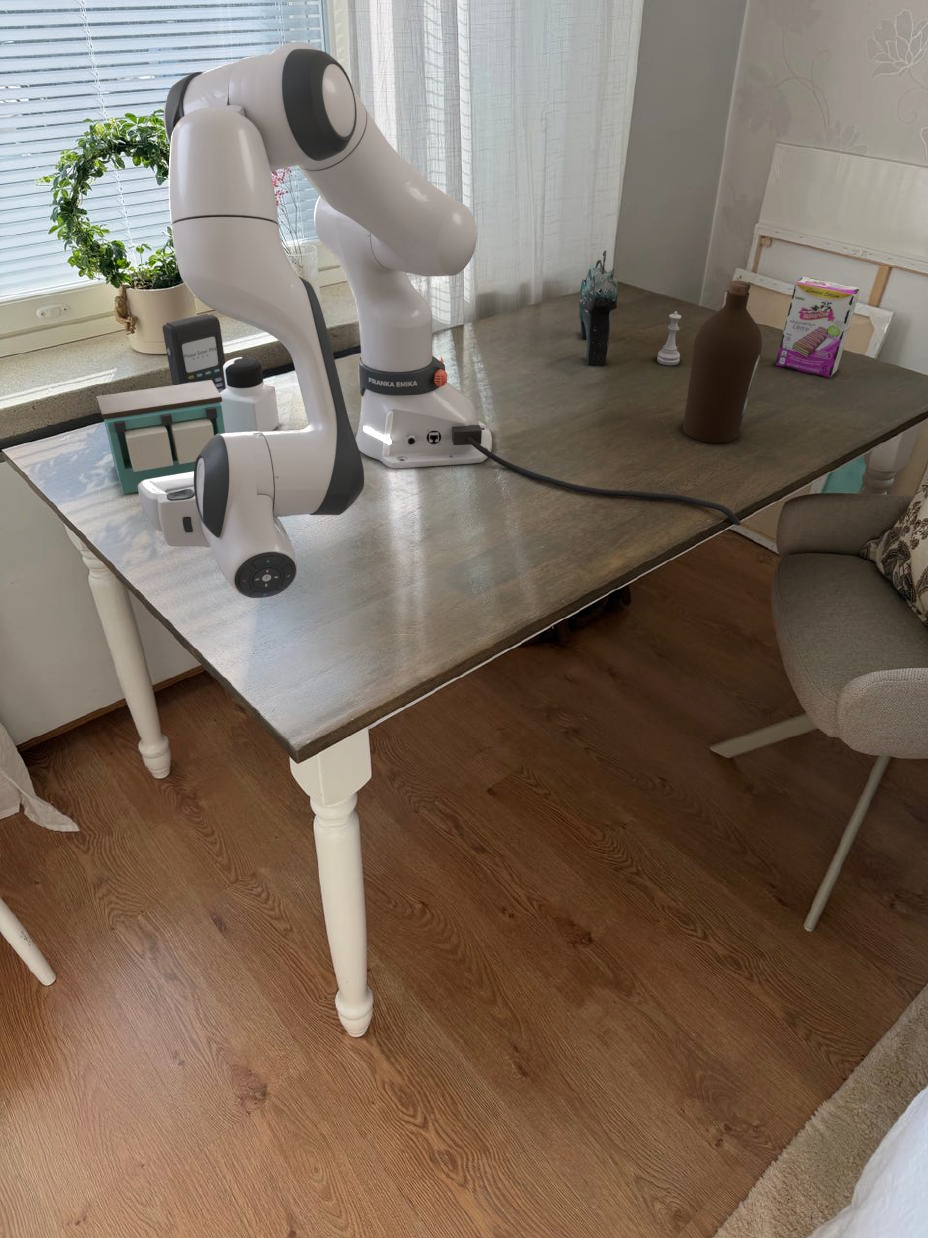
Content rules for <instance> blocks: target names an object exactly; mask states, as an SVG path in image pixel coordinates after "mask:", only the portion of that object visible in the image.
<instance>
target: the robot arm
mask: <svg viewBox="0 0 928 1238" xmlns="http://www.w3.org/2000/svg"><path fill="white" fill-rule="evenodd" d="M163 125H164V131H165V134H166V138H167V142H168V144H169V146H170V148H169V165H168V198H169V199H168V200H169V201H168V202H169V203H168V204H169V216H170V217H169V218H170V226H171V227H170V229H171V236H172V244H173V250H174V255H175V260H176V264H177V267H178V272H179V276H180V278H181V280H182V282H183V283H184V284H185V285H184V286H185V287H187V289H188V290H189V291H190V292H191V293H192V294H193V296H195V298H197V299H198V301H200V302H201V303H203V304H204V305H205V306H207V307H208V308H209V309H211V310H214V311H215V312H217V313H219V314H221V315H223V316H225V317H227V318H230V319H232V320H235V321H237V322H241V323H243V324H246V325H249V326H251V327H254V328H256V329H259V330H261V331H263V332H265V333H267V334H269V335H270V336H272V337H273V338H275V339H276V340H277V341H279V342H280V343H281V344H282V345H283V346H284V347H285V349H286V350H287V351H288V353H289V355H290V357H291V359H292V363H293V366H294V370H295V374H296V379H297V383H298V386H299V390H300V394H301V398H302V403H303V406H304V411H305V414H306V418H307V426H306V427H304V428H302V429H289V430H288V429H287V430H286V429H285V430H273V431H266V432H260V431H250V432H234V433H223V434H216V435H215V436H214V437H212V438H211V439H210V440H209V441H208V443H207V444H206V445H205V446H204V448H203V449H202V451H201V452H200V454H199V455H198V457H197V459H196V461H195V466H194V471H193V472H187V473H181V474H175V475H169V476H163V477H158V478H152V479H145V480H143V481H141V482H140V483H139V484H138V491H139V492H138V496H139V501H140V504H141V507H142V510H143V514H144V515H145V517H146V518H147V521H148V522H149V523H150V524H151V526H152V527H153V528H154V529H155V530H156V531H158V532H160V533H162V535H163V539H164V541H165V544H166V545H167V546H169V547H173V548H175V547H196V548H197V547H198V548H199V547H200V548H208V549H209V548H210V551H211V554H212V556H213V559H214V561H215V563H216V565H217V567H218V569H219V571H220V572H221V574H222V576H223V578H224V579H225V580H226V581H227V583H228V584H229V585H230V587H231V588H232V589H233V590H234V591H235V592H237V593H238V594H240V595H242V596H244V597H247V598H249V599H262V598H269V597H272V596H277V595H279V594H280V593H282V592H283V591H285V590H287V589H288V588H289V587H290V586H291V585H292V584H293V582H294V581H295V580H296V577H297V574H298V562H297V557H296V554H295V549H294V547H293V544H292V542H291V539H290V536H289V534H288V532H287V531H286V529H285V527H284V525H283V523H282V521H281V519H280V518H282V517H291V516H292V517H294V516H304V515H309V516H341V515H342V514H343V513H345V512H346V511H347V510H349V508H350V507H351V506H353V504H354V503H355V502H356V501H357V499H358V498H359V497H360V495H361V494H362V492H363V490H364V487H365V471H364V470H365V469H364V464H363V459H362V456H361V453H362V454H364V455H365V456H367V457H370V458H373V459H375V460H377V461H378V460H379V461H380V462H382V463H383V464H384V465H385V466H386V467H388V468H391V469H408V468H424V467H438V466H455V465H468V464H481V463H482V462H484V461H485V460H487V459H488V458H489V459H490V460H492V461H493V462H495V463H496V464H498V465H500V466H502V467H504V468H506V469H508V470H511V471H513V472H515V473H518V474H520V475H522V476H525V477H527V478H531V479H534V480H536V481H541V482H544V483H547V484H550V485H553V486H556V487H560V488H564V489H566V490H567V489H568V490H570V491H571V490H572V491H575V492H581V493H586V494H591V495H599V496H606V497H607V496H611V497H624V498H625V497H628V498H640V499H651V500H652V499H653V500H663V501H664V500H665V501H674V502H682V503H686V504H691V505H695V506H700V507H704V508H708V509H709V508H710V509H712V510H717V511H718V512H721V513H723V514H724V515H725V516H726V517H728V519H729V520H730V522H732V524H733V525H734V526H741V525H742V524H741V522H740V520H739V518H738V516H737V515H735V513H734V512H733V511H732V510H731V509H729V508H728V507H727V506H725V505H723V504H720V503H717V502H713V501H708V500H704V499H700V498H695V497H691V496H685V495H680V494H672V493H671V494H670V493H661V492H649V491H648V492H646V491H637V490H620V489H619V490H618V489H605V488H597V487H590V486H585V485H579V484H575V483H571V482H567V481H563V480H559V479H556V478H553V477H550V476H546V475H543V474H540V473H538V472H537V473H536V472H534V471H531V470H527V469H525V468H522V467H520V466H518V465H515V464H513V463H511V462H509V461H507V460H505V459H503V458H501V457H500V456H498V455H496V454H494V453H493V452H492V449H493V438H492V433H491V430H490V429H489V427H488V426H487V425H486V424H485V423H483V422H481V421H480V420H479V414H478V411H477V408H476V406H475V403H474V402H473V400H472V399H471V398H470V397H469V396H468V395H466V394H464V393H463V392H462V391H460V389H458V388H456V387H455V386H453V385H452V384H450V383H449V382H448V373H447V371H446V364H445V363H444V362H445V361H444V359H443V357H442V356H441V357H440V359H438V358H437V357H436V356H434V355H433V312H432V309H431V306H430V304H429V302H428V301H427V300H426V298H425V297H424V296H423V295H422V294H421V293H420V292H419V291H418V289H416V287H414V285H413V284H412V282H411V280H410V278H409V276H408V274H410V275H411V274H412V275H416V276H421V277H453V276H457V275H458V274H460V273H461V272H462V271H463V270H464V269H465V268H466V267H467V266H468V264H469V263H470V261H471V260H472V258H473V256H474V253H475V251H476V246H477V239H478V231H477V225H476V220H475V218H474V216H473V214H472V211H471V209H470V208H469V207H468V206H467V205H466V204H464V203H462V202H460V201H459V200H457V199H454V198H453V197H452V196H450V195H448V194H447V193H445V192H444V191H442V190H440V188H438V187H437V186H436V185H434V184H433V183H432V182H431V181H429V180H428V179H427V178H426V177H425V176H424V175H422V174H421V173H420V171H418V170H417V169H416V168H415V167H413V166H412V164H410V163H409V162H408V161H407V160H406V159H405V158H404V157H402V156H401V155H400V154H399V153H398V152H397V150H395V148H393V146H392V145H391V144H390V143H389V141H388V140H387V138H386V137H385V135H384V134H383V132H382V131H381V129H380V128H379V126H378V124H377V123H376V122H375V120H374V118H373V117H372V115H371V114H370V112H369V110H368V109H367V107H366V106H365V104H364V102H363V101H362V99H361V98H360V96H359V95H358V93H357V91H356V90H355V89H354V88H353V85H352V82H351V79H350V78H349V75H348V74H347V71H346V70H345V69H344V67H343V65H341V63H340V62H338V61H337V60H336V59H335V58H334V57H333V56H331V55H330V54H329V53H328V52H326V51H323V50H320V49H318V48H317V47H315V46H314V45H312V44H310V43H307V42H303V41H292V42H288V43H284V44H282V45H280V46H279V47H276V48H275V49H273V50H272V51H271V52H270V53H268V54H260V55H253V56H247V57H243V58H241V59H239V60H238V61H234V62H229V63H227V64H223V65H220V66H217V67H215V68H212V69H209V70H207V71H204V72H202V71H196V72H193V73H191V74H188V75H186V76H184V77H183V78H181V79H179V80H178V81H176V82H175V83H174V84H173V85H172V86H171V88H170V89H169V91H168V94H167V96H166V99H165V104H164V107H163ZM295 166H296V167H297V168H298V169H299V170H300V172H301V173H302V174H303V176H304V177H305V178H306V179H307V181H308V182H309V184H310V185H311V186H312V187H313V189H314V190H315V192H316V193H317V194H318V195H319V196H318V198H317V201H316V203H315V207H314V214H313V220H314V221H313V222H314V223H313V224H314V229H315V233H316V236H317V238H318V240H319V243H321V244H322V246H323V247H324V248H325V249H326V250H327V251H328V252H329V253H330V254H331V256H332V257H333V258H334V259H335V261H336V262H337V264H338V265H339V267H340V270H342V273H343V275H344V277H345V279H346V281H347V283H348V286H349V289H350V291H351V293H352V296H353V300H354V303H355V306H356V307H355V308H356V311H357V318H358V328H359V341H360V357H359V360H358V366H357V375H358V389H359V392H360V396H361V401H360V402H361V404H360V414H359V421H358V426H357V427H358V428H357V432H356V436H355V434H354V431H353V429H352V424H351V422H350V418H349V414H348V410H347V407H346V403H345V399H344V393H343V390H342V386H341V382H340V377H339V374H338V373H339V372H338V370H337V364H336V361H335V357H334V351H333V348H332V343H331V340H330V336H329V331H328V328H327V324H326V321H325V317H324V314H323V310H322V307H321V304H320V300H319V298H318V296H317V293H316V291H315V289H314V287H313V286H312V284H311V282H309V281H308V280H306V279H304V278H303V277H301V276H300V275H298V274H297V272H296V270H295V269H294V267H293V266H292V264H291V262H290V261H289V258H288V256H287V254H286V252H285V249H284V246H283V242H282V238H281V233H280V224H279V223H280V222H279V214H278V213H279V212H278V206H277V197H276V191H275V186H274V180H273V175H272V173H274V172H275V171H277V170H283V169H287V168H291V167H295Z"/></svg>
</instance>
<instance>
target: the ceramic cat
mask: <svg viewBox="0 0 928 1238" xmlns="http://www.w3.org/2000/svg"><path fill="white" fill-rule="evenodd" d="M602 257H603V258H602V260H603V261H602V260H601V259H598V260H597V261H596V264H595V267H590V268H588V271H587V274H586V277H585V279H582V280H581V284H580V292H579V297H578V299H579V300H578V315H579V320H580V338H581V339H582V340H586V353H585V360H586V362H587V365H588V366H596V367H597V366H599V367H602V366H603V367H604V366H606V362H607V357H608V351H609V342H610V332H611V318H612V317H611V315H612V311H613V310H616V309H617V308H618V305H619V304H618V298H619V297H618V294H619V283H618V277H617V275H614V274H615V268H612V269H610V270H609V271H607V270H606V269H605V268H606V267H605V266H606V265H605V263H606V259H607V250H604V251H603V253H602ZM598 266H599V267H598Z"/></svg>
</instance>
